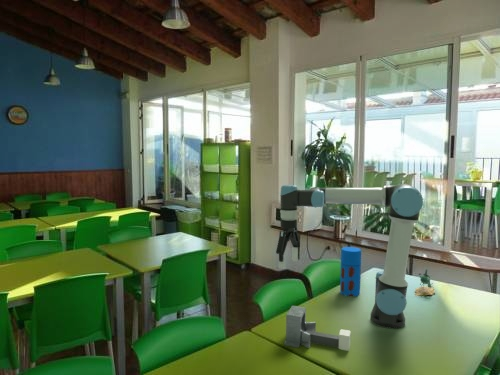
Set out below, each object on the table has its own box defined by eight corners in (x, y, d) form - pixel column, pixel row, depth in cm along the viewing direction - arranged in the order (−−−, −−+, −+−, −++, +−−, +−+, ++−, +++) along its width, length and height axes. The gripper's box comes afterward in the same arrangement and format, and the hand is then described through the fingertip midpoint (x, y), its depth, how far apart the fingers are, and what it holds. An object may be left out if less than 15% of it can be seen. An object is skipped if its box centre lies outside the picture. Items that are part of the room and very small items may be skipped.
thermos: (360, 297, 201) (362, 252, 199) (340, 295, 203) (341, 251, 201) (358, 290, 212) (360, 247, 210) (339, 288, 214) (340, 246, 212)
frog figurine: (443, 292, 210) (443, 267, 208) (423, 302, 201) (423, 276, 199) (427, 287, 218) (427, 263, 216) (408, 296, 209) (407, 271, 207)
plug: (350, 344, 151) (350, 330, 150) (348, 350, 146) (349, 336, 146) (306, 337, 157) (306, 323, 157) (303, 342, 153) (304, 328, 152)
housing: (316, 332, 161) (316, 306, 160) (309, 349, 147) (309, 321, 146) (293, 328, 164) (293, 303, 163) (284, 345, 151) (284, 317, 149)
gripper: (292, 214, 182) (292, 256, 184) (268, 222, 161) (268, 270, 163) (307, 215, 178) (306, 259, 180) (283, 224, 157) (283, 273, 159)
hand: (288, 264), depth 171 cm, fingers open, 13 cm apart
